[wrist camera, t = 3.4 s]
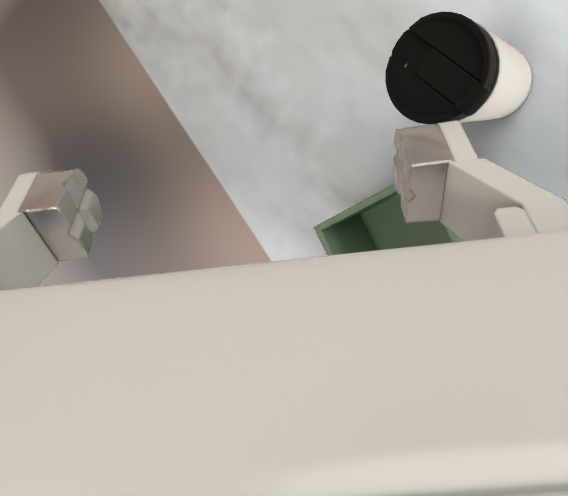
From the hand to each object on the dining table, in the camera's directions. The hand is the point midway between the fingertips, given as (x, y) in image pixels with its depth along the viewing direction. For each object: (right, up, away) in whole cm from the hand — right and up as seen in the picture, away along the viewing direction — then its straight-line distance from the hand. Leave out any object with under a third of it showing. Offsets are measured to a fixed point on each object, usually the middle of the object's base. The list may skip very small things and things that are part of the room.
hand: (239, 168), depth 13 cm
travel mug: (+20, +13, +32) cm, 40 cm away
